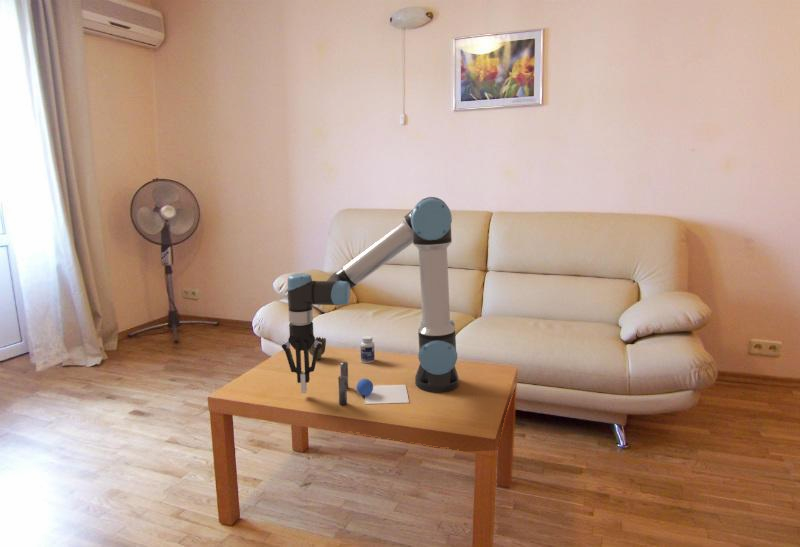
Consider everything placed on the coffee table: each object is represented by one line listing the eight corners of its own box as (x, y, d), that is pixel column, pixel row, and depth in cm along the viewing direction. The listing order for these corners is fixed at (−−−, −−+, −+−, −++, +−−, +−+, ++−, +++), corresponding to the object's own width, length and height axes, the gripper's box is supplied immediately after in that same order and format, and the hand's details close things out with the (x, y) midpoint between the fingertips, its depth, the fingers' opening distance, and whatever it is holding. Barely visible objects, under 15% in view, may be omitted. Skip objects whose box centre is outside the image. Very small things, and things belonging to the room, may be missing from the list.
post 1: (348, 386, 175) (347, 361, 174) (348, 389, 173) (347, 364, 171) (341, 386, 175) (340, 361, 174) (340, 389, 173) (340, 364, 171)
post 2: (347, 402, 163) (346, 375, 162) (346, 405, 161) (346, 378, 159) (339, 402, 163) (338, 375, 161) (338, 405, 161) (338, 378, 159)
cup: (324, 362, 198) (324, 342, 197) (306, 362, 198) (305, 342, 197) (327, 355, 206) (327, 336, 204) (309, 355, 206) (309, 336, 204)
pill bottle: (359, 362, 197) (358, 338, 196) (363, 358, 203) (362, 334, 201) (372, 364, 196) (372, 339, 194) (376, 359, 201) (375, 335, 200)
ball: (357, 392, 171) (373, 390, 171) (357, 399, 166) (374, 397, 166) (355, 377, 170) (372, 375, 170) (355, 383, 165) (372, 381, 165)
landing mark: (405, 385, 176) (405, 384, 176) (409, 402, 163) (409, 402, 163) (365, 386, 175) (365, 385, 175) (365, 404, 162) (365, 403, 162)
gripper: (322, 318, 166) (324, 386, 171) (282, 319, 166) (285, 387, 170) (320, 325, 159) (323, 395, 164) (278, 326, 158) (282, 397, 163)
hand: (303, 391), depth 167 cm, fingers closed
